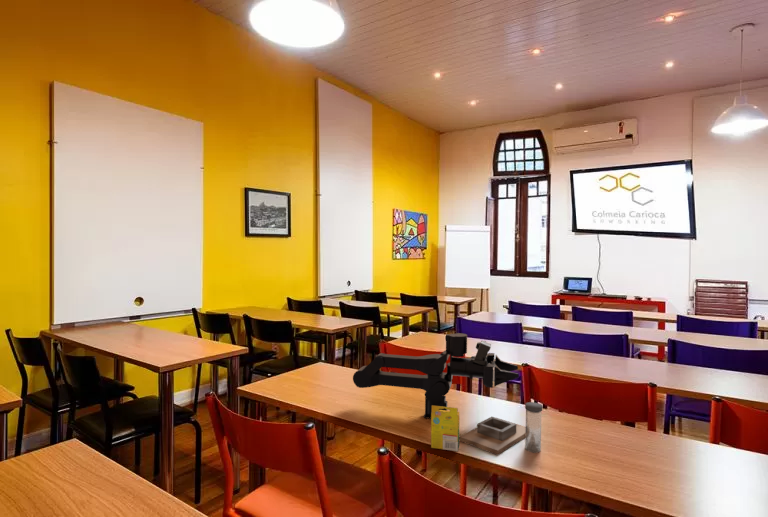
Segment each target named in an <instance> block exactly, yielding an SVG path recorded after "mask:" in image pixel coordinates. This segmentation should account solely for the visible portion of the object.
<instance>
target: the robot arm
mask: <svg viewBox="0 0 768 517" xmlns="http://www.w3.org/2000/svg"><path fill="white" fill-rule="evenodd" d="M491 347H492V344H491V343H488V342H487V341H486V340H481V341H480V342H476V346H475V349H476V350H477V351H476V354H475V355H471V356H470V357H469V358H467V357H464V356H465V355H466V354H467V353H468V334H466V333H462V332H461V333H459V332H457V333H449V334H448V333H447V334H446V335H445V350H444V351H442V352H441V353H433V354H432V353H431V354H426V355H420V356H414V355H402V354H401V355H400V354H390V353H388V354H387V353H384V352H380V353H379V354H377V355H376V356H375V357H374V359H372V361H371V362H369V364H367V365H363V366H361V367H360V368H359V369H358V370H356V371H355V372H354V373H353V375H352V382H353V383H354V385H355V386H356V387H357V388H358V389H359V388H361V389H364V388H365V389H366V388H373V387H377V386H388V387H396V388H405V389H406V388H407V389H418V390H419V389H420V390H423V391H425V392H424V400H425V401H424V414H423V418H425V419H431V412H432V411H431V410H432V405H433V406H443V407H448V400H447V396H446V395H448V393H449V391H450V389H451V387H452V383H453V381H452V380H453V376H454V377H457V376H458V377H467V378H468V379H470V380H473V378H477V379H479V378H480V379H482V381H483V382H482V383H483V385H484V387H486V388H488V389H489V388H490V389H491V388H492V389H493V388H494V387H497V386H499V385H501V384H504V383H507V382H509V381H510V382H511V381H513V380H515V379H518V378H519V376H520V375H519V373H518V372H514V371H518V369H519V365H516V364H513V363H510V362H507V361H505V360H501V359H500V358H499V356H498V355H497V354H495V353H494V352H490V350H491ZM448 360H449V362H448ZM447 362H448V363H447ZM382 368H389V369H390V368H391V369H400V370H401V369H402V370H413V371H418V372H421V373H423V374H424V375H423V374H413V373H402V372H401V373H400V372H393V371H392V372H390V371H389V372H388V371H382V370H381V369H382ZM445 368H446V372H444V371H445ZM439 410H446V411H448V410H447V409H445V408H444V409H439Z"/></svg>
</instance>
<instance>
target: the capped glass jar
mask: <svg viewBox="0 0 768 517" xmlns="http://www.w3.org/2000/svg"><path fill="white" fill-rule="evenodd" d="M524 408H525V427H526V431H525V438H524V439H525V440H524V442H525V444H524V448H525V450H526V451H527V452H529V453H536V454H537V453H540V452H541V451H542V450H541V449H542V445H541V444H542V412H543V405H542V404H541V403H537V402H531V401H529V402H525V405H524Z"/></svg>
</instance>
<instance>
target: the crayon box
mask: <svg viewBox="0 0 768 517" xmlns="http://www.w3.org/2000/svg"><path fill="white" fill-rule="evenodd" d="M444 408H445V409H447V411H446V410H439V409H444ZM458 410H459V408H458V407H451V406H447V407H443V406H433V405H432V410H431V411H432V412H431V418H430V420H431V422H430V427H431V428H430V430H431V431H430V438H431V439H430V442H431V443H430V448H431V449H439V450H444V451H446V450H447V451H453V452H456V453H457V452H459V448H460V441H459V436H460V411H458Z"/></svg>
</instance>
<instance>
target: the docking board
mask: <svg viewBox="0 0 768 517" xmlns="http://www.w3.org/2000/svg"><path fill="white" fill-rule="evenodd" d="M525 431H526V425H525V426H524V425H522V424H518V423H515V422H512V421H508V420H506V419H505V420H504V419H502V418H499V417H494V416H489V417H488V418H486V419H484V420H482V421H480V422H478V423H477V425H476V427H475V428H473V429H471V430H469V431H467V432H465V433H464V434H462V435H459V442H462V443H465V444H467V445H469V446H472V447H475V448H477V449H480V450H483V451H486V452H489V453H490V454H491V453H492V454H494V455H496V456H498V455H500V454H502V453H503V452H504V451H506V450H507V449H509V448H511V447H512V446H514V445H515V444H517V443H519V442H520V441H522V440H524V439H525Z"/></svg>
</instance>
